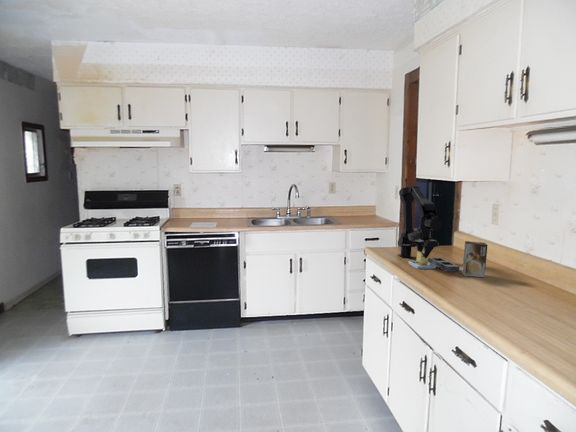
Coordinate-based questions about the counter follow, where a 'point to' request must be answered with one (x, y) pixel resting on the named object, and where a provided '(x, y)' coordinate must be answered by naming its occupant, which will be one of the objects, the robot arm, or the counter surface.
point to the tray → (430, 266)
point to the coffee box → (474, 259)
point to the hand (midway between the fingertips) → (422, 256)
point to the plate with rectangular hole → (444, 264)
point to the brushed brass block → (421, 259)
